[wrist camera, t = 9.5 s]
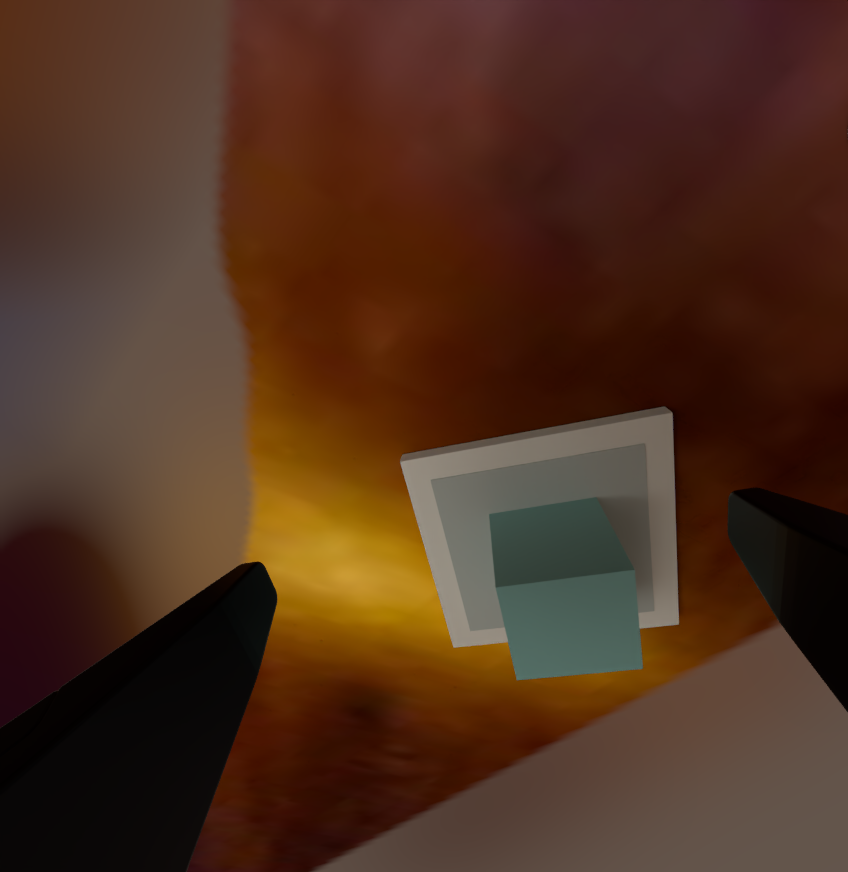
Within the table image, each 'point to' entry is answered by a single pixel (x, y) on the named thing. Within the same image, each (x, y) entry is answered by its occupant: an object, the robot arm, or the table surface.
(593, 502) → the cube
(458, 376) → the table surface
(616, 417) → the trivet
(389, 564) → the table surface
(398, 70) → the table surface
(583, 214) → the table surface
